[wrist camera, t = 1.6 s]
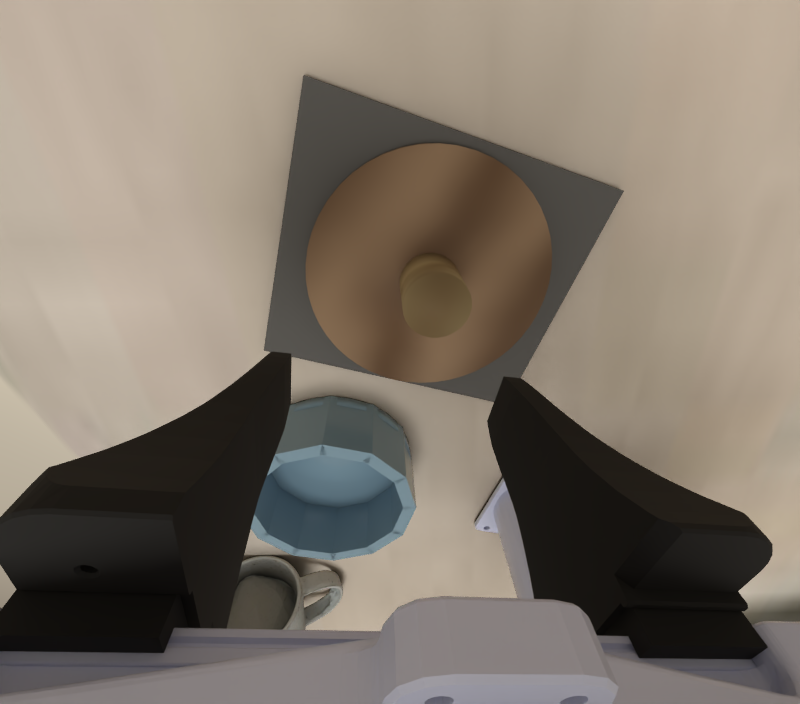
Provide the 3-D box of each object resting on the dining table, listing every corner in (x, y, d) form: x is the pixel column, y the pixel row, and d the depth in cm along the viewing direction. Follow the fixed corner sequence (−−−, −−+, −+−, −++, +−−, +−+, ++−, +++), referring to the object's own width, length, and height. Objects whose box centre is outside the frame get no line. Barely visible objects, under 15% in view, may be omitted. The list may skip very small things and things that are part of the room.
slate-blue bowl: (430, 415, 26) (438, 464, 23) (386, 514, 32) (387, 568, 28) (268, 381, 24) (247, 429, 21) (250, 493, 30) (231, 548, 26)
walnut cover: (592, 192, 19) (639, 206, 16) (488, 393, 25) (505, 436, 22) (336, 101, 17) (324, 94, 13) (290, 348, 23) (274, 388, 19)
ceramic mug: (238, 604, 38) (209, 705, 31) (220, 555, 34) (182, 661, 27) (345, 598, 38) (340, 696, 32) (341, 550, 34) (333, 651, 28)
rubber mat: (619, 189, 19) (623, 191, 19) (503, 400, 26) (505, 404, 26) (305, 76, 16) (303, 75, 16) (265, 347, 23) (263, 350, 23)
